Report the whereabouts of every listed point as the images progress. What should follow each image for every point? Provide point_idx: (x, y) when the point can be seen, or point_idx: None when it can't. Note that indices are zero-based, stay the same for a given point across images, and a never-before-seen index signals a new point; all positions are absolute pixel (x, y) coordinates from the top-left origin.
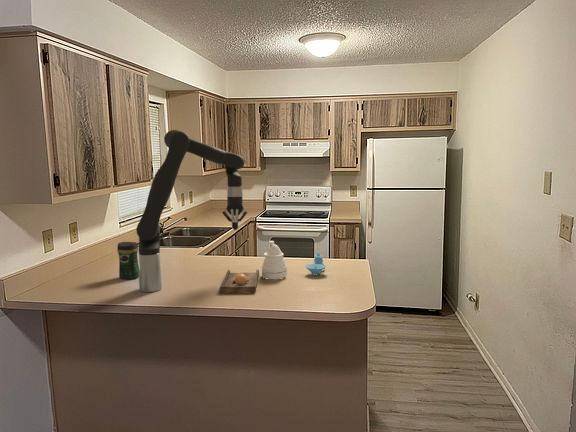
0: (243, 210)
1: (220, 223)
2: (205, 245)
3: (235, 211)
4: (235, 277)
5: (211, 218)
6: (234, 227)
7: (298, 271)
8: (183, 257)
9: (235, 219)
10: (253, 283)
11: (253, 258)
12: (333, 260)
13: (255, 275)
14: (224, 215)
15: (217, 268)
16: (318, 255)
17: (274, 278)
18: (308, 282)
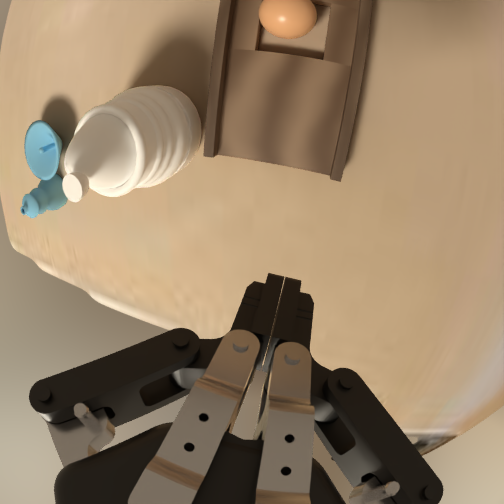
0: (69, 453)
1: None
2: None
3: (206, 499)
4: (313, 10)
5: None
6: (286, 292)
7: None
8: (413, 387)
9: (248, 372)
10: (237, 8)
11: None
12: (47, 262)
13: (221, 69)
14: (417, 452)
15: (361, 280)
16: (25, 204)
17: (156, 85)
18: (74, 65)
